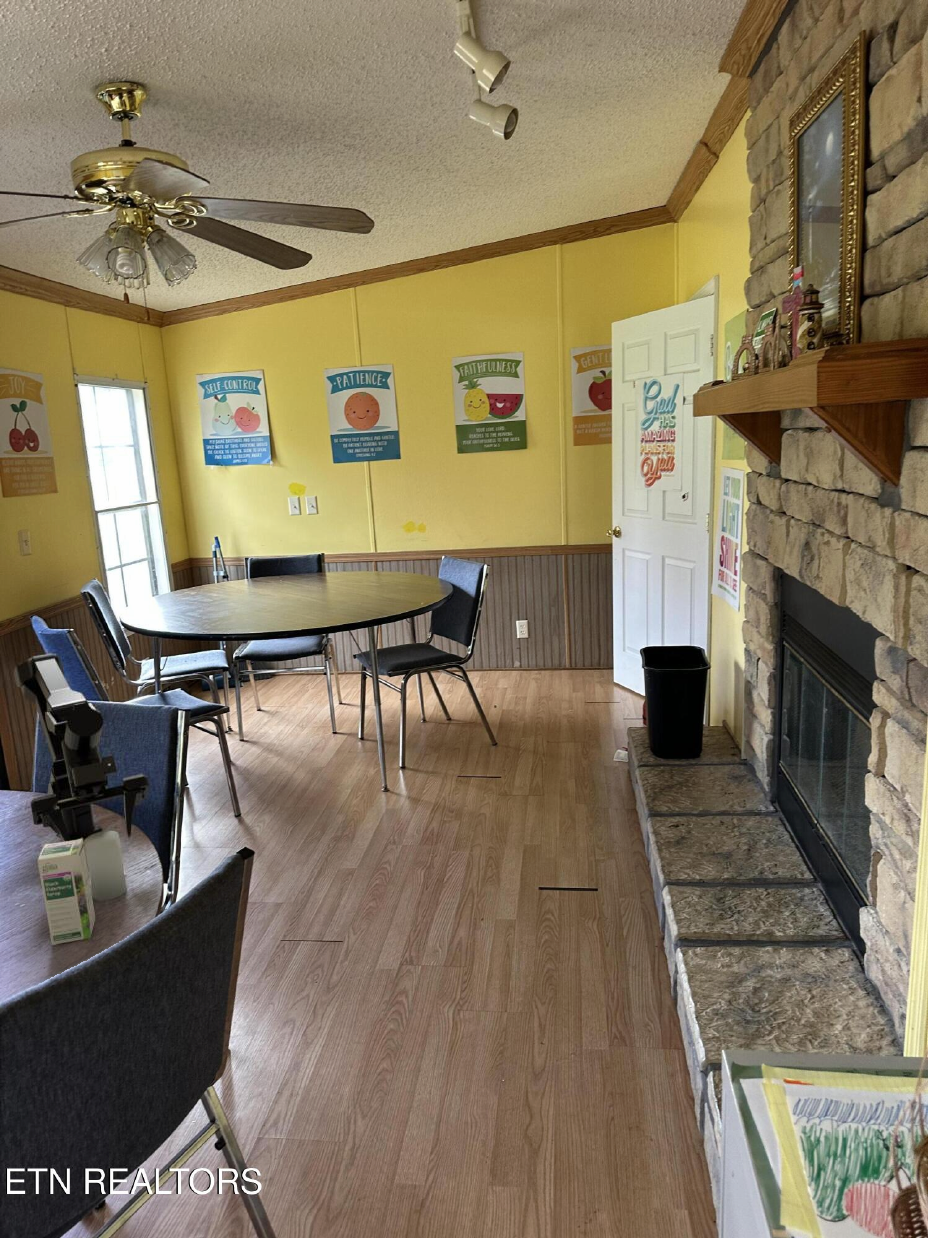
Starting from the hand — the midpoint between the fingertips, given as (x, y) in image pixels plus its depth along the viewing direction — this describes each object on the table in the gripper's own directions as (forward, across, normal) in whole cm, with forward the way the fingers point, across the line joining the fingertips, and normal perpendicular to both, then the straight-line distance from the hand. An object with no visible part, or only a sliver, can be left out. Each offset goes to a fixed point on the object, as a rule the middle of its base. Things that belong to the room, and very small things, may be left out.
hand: (101, 844), depth 143 cm
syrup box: (+14, -7, -3) cm, 16 cm away
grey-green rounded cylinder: (+7, 0, +4) cm, 8 cm away
